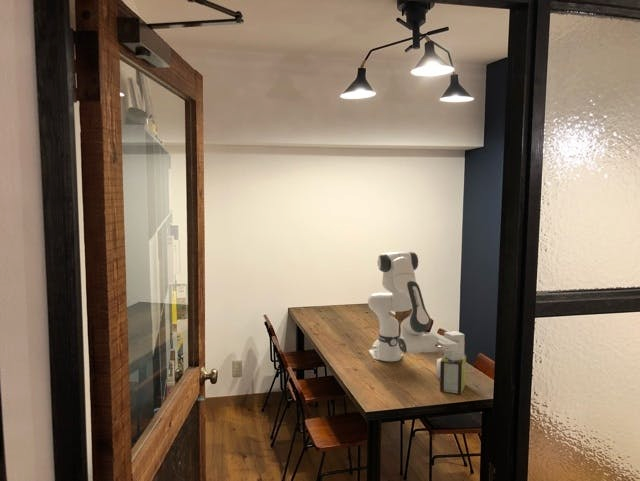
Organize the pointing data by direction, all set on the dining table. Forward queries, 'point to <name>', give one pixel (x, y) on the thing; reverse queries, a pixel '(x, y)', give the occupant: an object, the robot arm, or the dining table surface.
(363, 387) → the dining table surface
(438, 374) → the off-white mug
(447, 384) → the protein box
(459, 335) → the supplement box
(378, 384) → the dining table surface
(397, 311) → the robot arm
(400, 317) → the book
